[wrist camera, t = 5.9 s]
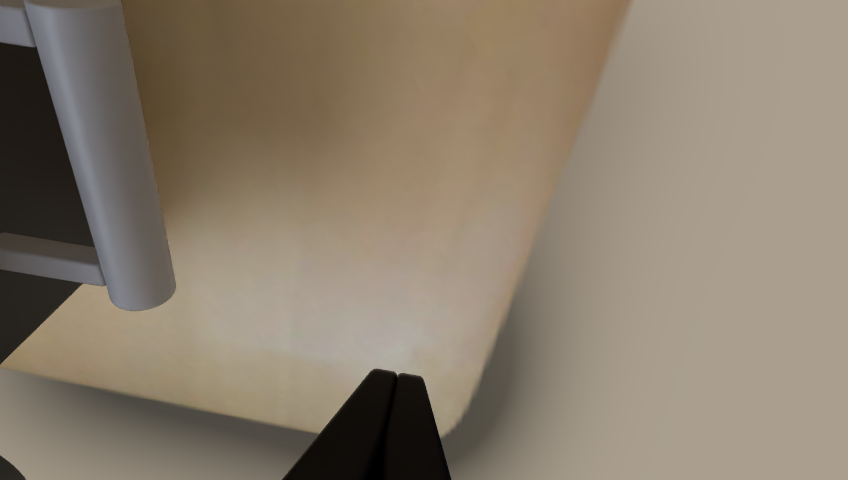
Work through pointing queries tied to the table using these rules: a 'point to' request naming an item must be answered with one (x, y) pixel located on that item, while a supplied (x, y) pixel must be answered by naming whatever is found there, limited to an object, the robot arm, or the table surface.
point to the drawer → (73, 166)
